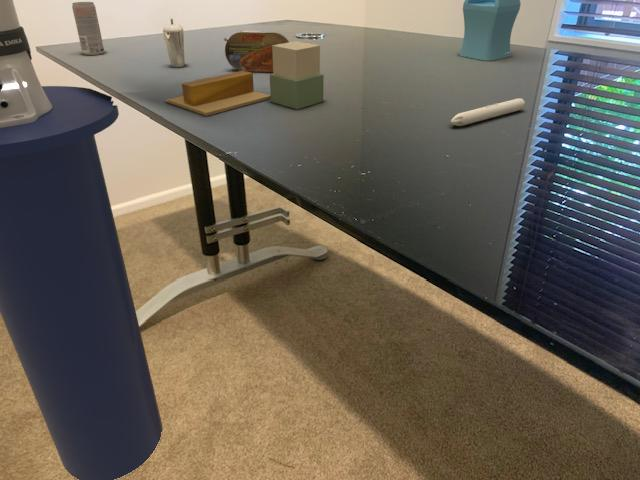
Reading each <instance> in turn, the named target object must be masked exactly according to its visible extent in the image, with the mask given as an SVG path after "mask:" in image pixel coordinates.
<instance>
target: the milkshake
mask: <svg viewBox="0 0 640 480" xmlns="http://www.w3.org/2000/svg"><path fill="white" fill-rule="evenodd" d="M162 33H163V38H164V41H165V45H166V50H167V53H168V58H169V63H170V67H171V68H183V67H185V66H186V63H185V44H184V43H185V41H184V40H185V39H184V27H183V26H182V25H181V24H174V20H173V18H170V24H166V25H165V26H164V27H163V28H162Z"/></svg>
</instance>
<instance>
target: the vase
mask: <svg viewBox="0 0 640 480" xmlns="http://www.w3.org/2000/svg"><path fill="white" fill-rule="evenodd" d="M521 4H522V3H521V0H464V1H463V5H462V14H463V23H464V25H463V26H464V28H463V29H464V34H463V41H462V45H461V48H460V52H459V56H460V57H463V58H468V59H469V58H470V59H474V60H479V61H486V62H492V61H496V60H497V61H498V60H501V59H505V58H509V57H511V56H512V55H511V38H512V37H511V36H512V32H513V27H514V25H515V22H516V19H517V16H518V14H519V12H520V11H521V10H520V9H521ZM507 52H510V53H507ZM505 53H506V54H505Z"/></svg>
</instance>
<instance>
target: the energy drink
mask: <svg viewBox="0 0 640 480" xmlns="http://www.w3.org/2000/svg"><path fill="white" fill-rule="evenodd" d="M71 8H72V13H73V17H74V21H75V26H76V30H77V35H78V39H79V44H80V48H81V52H82V54H83V55H84V56H98V55H103V54H104V53H105V47H104V42H103V37H102V33H101V28H100V23H99V19H98V18H99V17H98V13H97V9H96V5H95V3H94V2H93V1H75V2H72V5H71Z"/></svg>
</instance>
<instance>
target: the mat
mask: <svg viewBox="0 0 640 480" xmlns="http://www.w3.org/2000/svg"><path fill="white" fill-rule="evenodd" d="M267 100H271V95H270V94H267V93H262V92H259V91H255V90H254V91H253V92H249V93H245V94H242V95H238V96H234V97H230V98H226V99H222V100H218V101H214V102H210V103H206V104H202V105H198V106H191V105H188V104H185V103H184V97H183V95H180V96H175V97H171V98H167V99H166V102H167V103H168V104H171V105H173V106H177V107H179V108H182V109H185V110H188V111H191V112H194V113H197V114H200V115H202V116H204V117H208V116H211V115H212V116H213V115H215V114H219V113H223V112H226V111H231V110H235V109H238V108H241V107H245V106H248V105H253V104H256V103H257V104H258V103H260V102H263V101H267Z"/></svg>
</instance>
